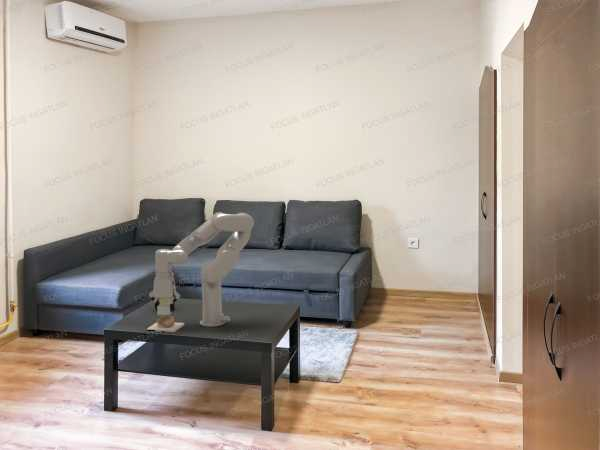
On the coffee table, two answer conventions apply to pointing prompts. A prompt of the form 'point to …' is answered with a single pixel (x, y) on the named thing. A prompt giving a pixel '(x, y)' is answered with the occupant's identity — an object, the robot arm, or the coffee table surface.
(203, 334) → the coffee table surface
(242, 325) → the coffee table surface
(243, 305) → the coffee table surface
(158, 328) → the baseplate
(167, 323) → the oak block
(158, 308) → the sage block
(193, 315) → the coffee table surface
